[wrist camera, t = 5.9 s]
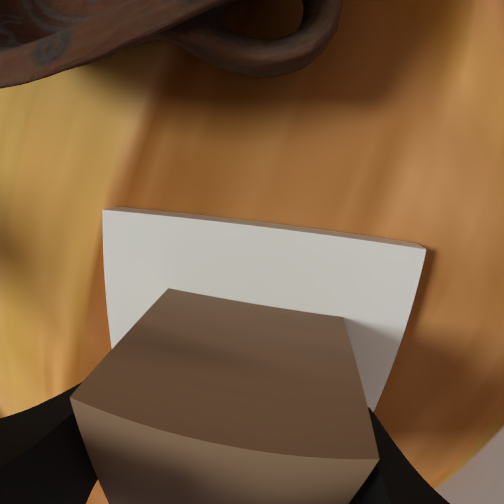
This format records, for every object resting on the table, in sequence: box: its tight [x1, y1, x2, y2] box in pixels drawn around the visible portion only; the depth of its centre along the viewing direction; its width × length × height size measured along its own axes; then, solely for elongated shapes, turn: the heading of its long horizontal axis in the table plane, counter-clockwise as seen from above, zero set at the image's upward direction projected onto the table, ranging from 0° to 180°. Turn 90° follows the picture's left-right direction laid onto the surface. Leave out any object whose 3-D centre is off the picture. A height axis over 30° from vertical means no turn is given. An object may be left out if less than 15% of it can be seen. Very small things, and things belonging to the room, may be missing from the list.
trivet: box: [103, 206, 426, 413], centre depth 12 cm, size 11×11×1 cm
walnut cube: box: [70, 288, 379, 504], centre depth 9 cm, size 6×6×6 cm
